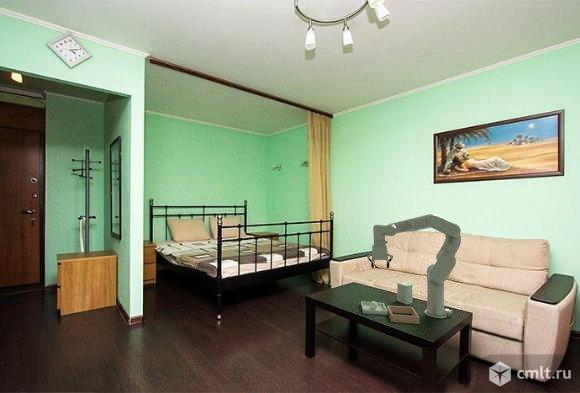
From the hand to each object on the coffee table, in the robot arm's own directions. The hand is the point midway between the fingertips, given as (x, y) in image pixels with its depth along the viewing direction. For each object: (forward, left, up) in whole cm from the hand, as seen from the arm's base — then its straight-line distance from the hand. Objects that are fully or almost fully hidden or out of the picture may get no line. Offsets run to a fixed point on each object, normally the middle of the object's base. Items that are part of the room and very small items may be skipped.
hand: (380, 268), depth 188 cm
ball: (+5, +5, -23) cm, 24 cm away
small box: (-19, -15, -27) cm, 36 cm away
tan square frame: (-11, +14, -26) cm, 32 cm away
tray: (+5, +5, -26) cm, 27 cm away
